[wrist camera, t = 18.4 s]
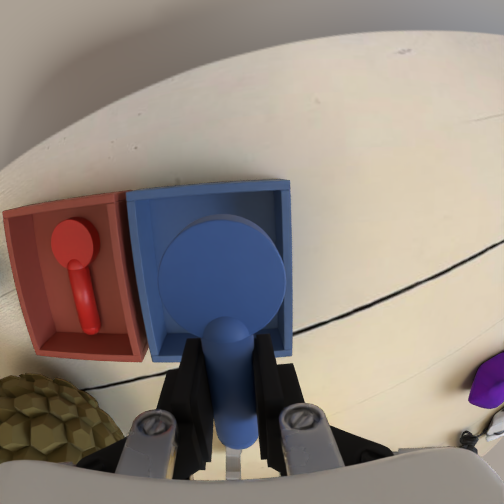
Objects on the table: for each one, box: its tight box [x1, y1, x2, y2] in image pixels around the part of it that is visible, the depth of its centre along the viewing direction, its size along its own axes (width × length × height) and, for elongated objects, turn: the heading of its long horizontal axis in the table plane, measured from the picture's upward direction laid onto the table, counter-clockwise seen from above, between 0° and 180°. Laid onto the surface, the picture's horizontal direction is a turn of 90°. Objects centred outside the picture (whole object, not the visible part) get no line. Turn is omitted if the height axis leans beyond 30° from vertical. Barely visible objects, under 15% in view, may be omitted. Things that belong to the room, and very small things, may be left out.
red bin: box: [2, 190, 149, 362], centre depth 22 cm, size 12×10×4 cm
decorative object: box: [0, 373, 124, 464], centre depth 17 cm, size 17×17×20 cm
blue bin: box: [126, 179, 292, 362], centre depth 22 cm, size 12×10×4 cm
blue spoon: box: [157, 214, 286, 450], centre depth 11 cm, size 10×4×2 cm, turn 3°
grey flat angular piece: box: [226, 447, 242, 480], centre depth 25 cm, size 6×1×10 cm
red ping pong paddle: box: [51, 217, 101, 335], centre depth 22 cm, size 10×4×2 cm, turn 3°
